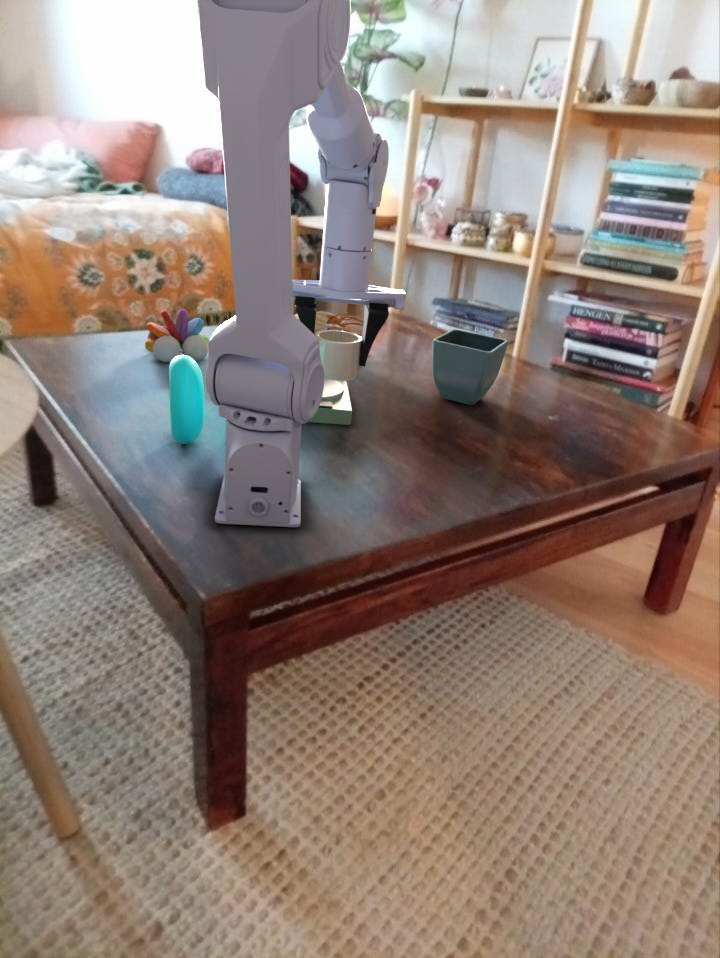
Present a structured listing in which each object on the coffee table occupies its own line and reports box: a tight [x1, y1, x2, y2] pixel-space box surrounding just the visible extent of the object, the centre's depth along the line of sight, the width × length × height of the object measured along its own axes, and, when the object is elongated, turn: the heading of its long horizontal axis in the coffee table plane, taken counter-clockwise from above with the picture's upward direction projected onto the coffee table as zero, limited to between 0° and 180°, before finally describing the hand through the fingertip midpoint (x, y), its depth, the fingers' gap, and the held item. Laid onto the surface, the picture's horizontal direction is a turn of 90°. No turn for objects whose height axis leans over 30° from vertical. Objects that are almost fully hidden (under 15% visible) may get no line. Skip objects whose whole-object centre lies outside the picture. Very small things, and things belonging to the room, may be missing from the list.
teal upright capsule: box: [168, 354, 205, 445], centre depth 80 cm, size 10×10×10 cm
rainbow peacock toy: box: [144, 308, 210, 363], centre depth 107 cm, size 8×10×7 cm
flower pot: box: [431, 328, 509, 406], centre depth 103 cm, size 9×9×9 cm
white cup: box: [315, 330, 362, 381], centre depth 86 cm, size 6×6×5 cm
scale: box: [307, 378, 353, 426], centre depth 96 cm, size 13×11×3 cm
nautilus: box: [294, 310, 364, 337], centre depth 113 cm, size 8×22×15 cm
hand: (336, 362), depth 86 cm, fingers closed on white cup, 6 cm apart
